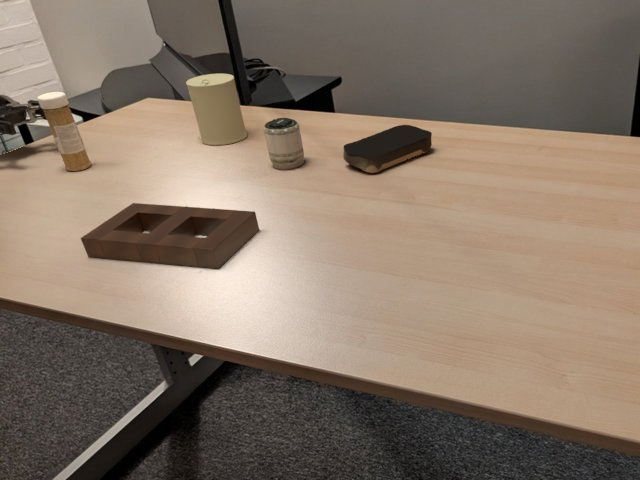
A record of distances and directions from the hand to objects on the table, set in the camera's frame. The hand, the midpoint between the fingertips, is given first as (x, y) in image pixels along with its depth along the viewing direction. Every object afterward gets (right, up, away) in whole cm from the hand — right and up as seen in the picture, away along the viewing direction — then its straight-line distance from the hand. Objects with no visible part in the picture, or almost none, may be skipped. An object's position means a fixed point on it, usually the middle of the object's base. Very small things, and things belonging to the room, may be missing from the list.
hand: (34, 122), depth 122 cm
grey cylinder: (+48, -9, -2) cm, 49 cm away
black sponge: (+67, -8, -2) cm, 68 cm away
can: (+32, 0, +11) cm, 34 cm away
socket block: (+38, -27, -27) cm, 54 cm away
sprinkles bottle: (+8, -9, +1) cm, 12 cm away
